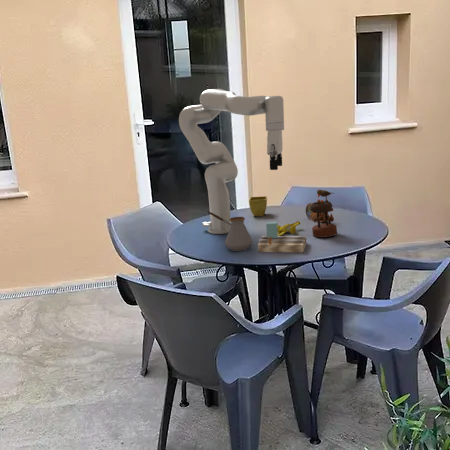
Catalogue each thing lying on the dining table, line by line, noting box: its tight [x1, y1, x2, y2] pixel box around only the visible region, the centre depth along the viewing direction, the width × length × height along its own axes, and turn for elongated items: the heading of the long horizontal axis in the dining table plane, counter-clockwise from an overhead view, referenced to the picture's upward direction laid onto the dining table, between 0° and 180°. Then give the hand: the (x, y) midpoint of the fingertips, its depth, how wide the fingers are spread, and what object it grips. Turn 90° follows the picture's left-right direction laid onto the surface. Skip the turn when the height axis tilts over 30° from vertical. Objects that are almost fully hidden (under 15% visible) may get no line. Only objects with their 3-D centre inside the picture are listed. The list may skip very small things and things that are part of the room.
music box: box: [310, 189, 338, 238], centre depth 227 cm, size 15×11×20 cm
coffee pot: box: [206, 210, 253, 252], centre depth 221 cm, size 21×12×15 cm, turn 55°
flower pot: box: [248, 195, 268, 217], centre depth 272 cm, size 9×9×9 cm
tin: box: [305, 202, 329, 224], centre depth 253 cm, size 15×3×8 cm, turn 27°
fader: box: [265, 221, 278, 239], centre depth 216 cm, size 4×3×7 cm
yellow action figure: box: [277, 220, 301, 236], centre depth 239 cm, size 19×4×15 cm
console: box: [257, 235, 307, 253], centre depth 216 cm, size 18×12×6 cm, turn 75°
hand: (276, 167), depth 222 cm, fingers open, 9 cm apart
